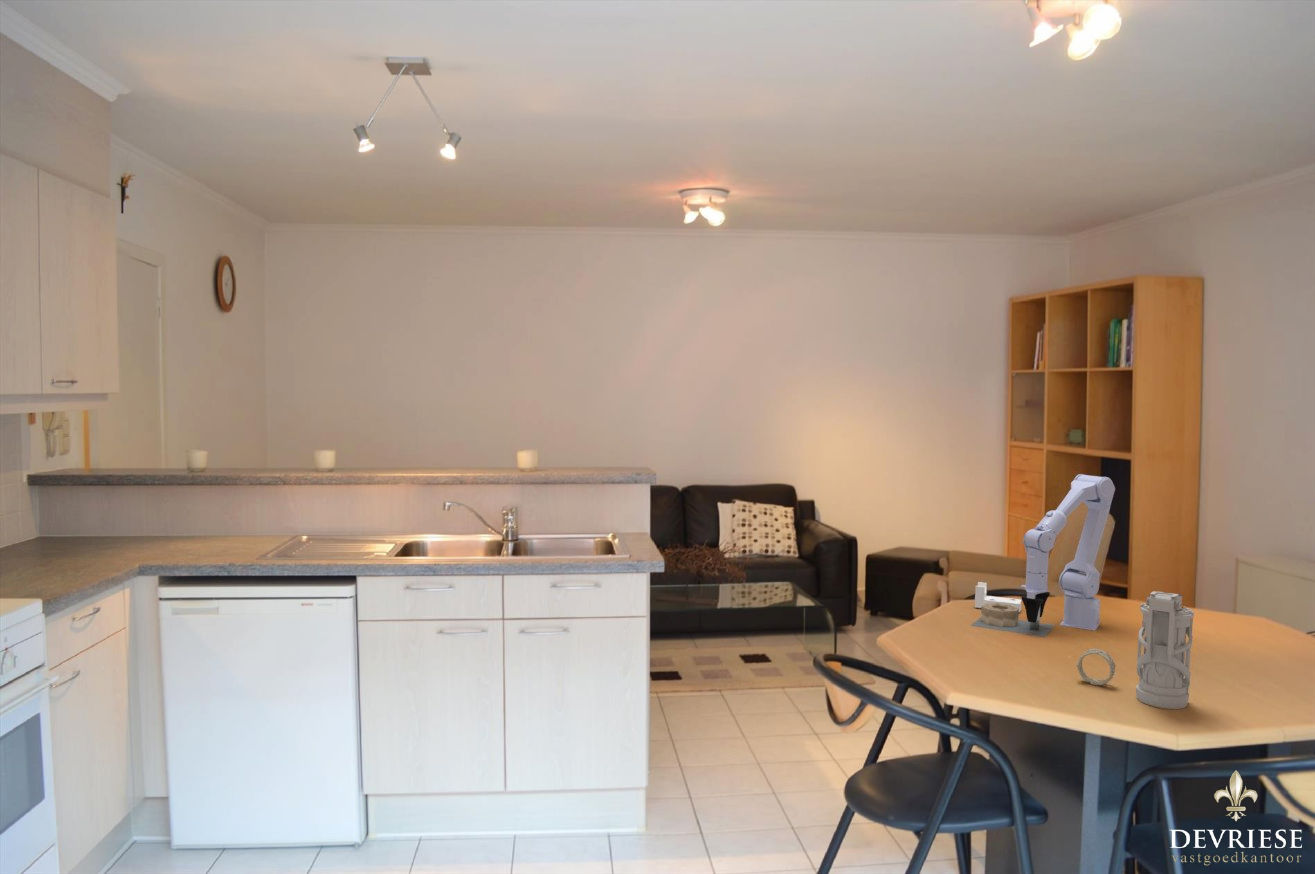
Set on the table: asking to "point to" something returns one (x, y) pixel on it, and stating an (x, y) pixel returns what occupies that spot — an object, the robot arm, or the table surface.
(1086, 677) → the bracelet
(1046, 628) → the mat
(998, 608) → the ring
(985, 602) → the bracket
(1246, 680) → the table surface
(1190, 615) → the lantern
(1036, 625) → the peg
